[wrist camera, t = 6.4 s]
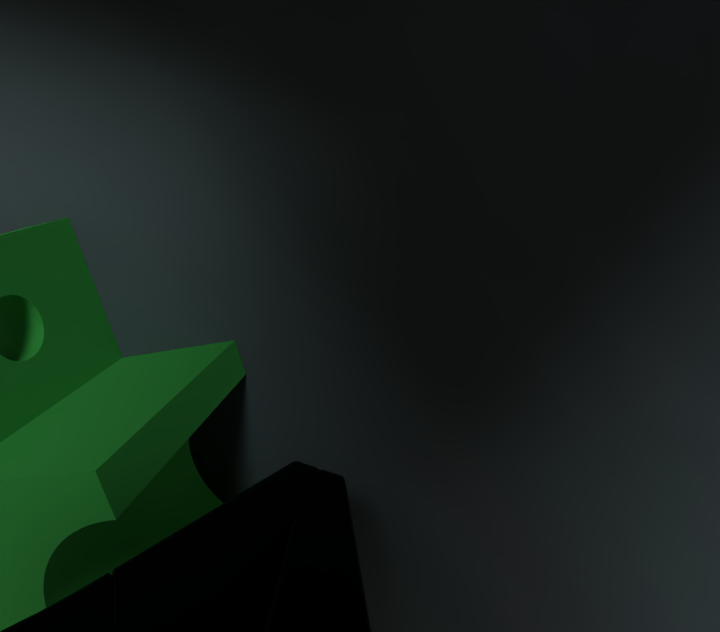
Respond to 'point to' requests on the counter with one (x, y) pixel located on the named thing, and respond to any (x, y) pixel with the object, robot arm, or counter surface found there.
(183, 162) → the counter surface
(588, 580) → the counter surface
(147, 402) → the pipe clamp
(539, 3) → the counter surface
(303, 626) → the robot arm
